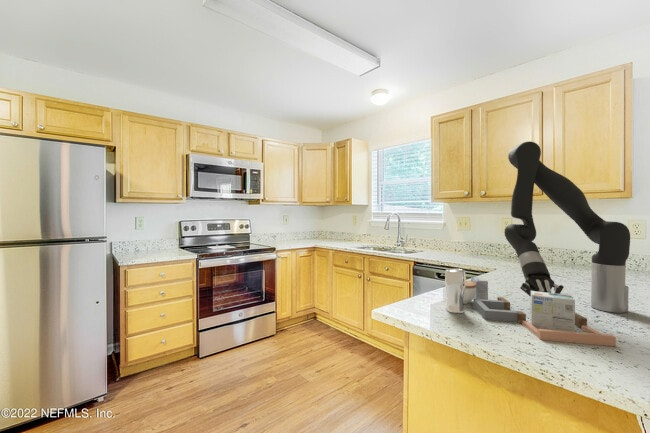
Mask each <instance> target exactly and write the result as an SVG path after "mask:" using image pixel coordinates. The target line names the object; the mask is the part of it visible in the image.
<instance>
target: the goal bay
mask: <svg viewBox="0 0 650 433" xmlns="http://www.w3.org/2000/svg"><path fill="white" fill-rule="evenodd" d="M521 325H522V326H524V327H525V328H526V329H527V330H528V331H530V332H531V333H532V334H533V335H534V336H535V337H536V338H538V339H539V340H543V341H544V340H545V341H553V342H565V343H575V344H586V345H587V344H588V345H598V346H609V347H610V346H611V347H616V346H617V345H616V344H617V340H616V339H617V337H616V336H615V335H612V334H605V333H601V332H599V331H597V330H596V329H594V328H592V327H591V326H589V325H587V326H585V325H582V328H581V330H582V331H583V332H580V331H575V332H572V331H559V330H547V329H537V328H536V327H534V326H533V325H532V324H531V322H529V321H528V320H526V321H522V323H521Z"/></svg>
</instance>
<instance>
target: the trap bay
mask: <svg viewBox="0 0 650 433" xmlns="http://www.w3.org/2000/svg"><path fill="white" fill-rule="evenodd" d="M472 302H473V304H472V307H473V308H474V309H475V311H477V312H478V313H479V315H480V316H481V317H482V318H483V319H484V320H488V321H502V322H503V321H504V322H514V323H516V322H517V323H518V313H517V312H516V311H517V310H511V309H510V310H504V302H503V301H500V300H497V299H488V300H485V299H474V298H473V300H472Z"/></svg>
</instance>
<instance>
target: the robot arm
mask: <svg viewBox="0 0 650 433" xmlns="http://www.w3.org/2000/svg"><path fill="white" fill-rule="evenodd" d="M541 150H542V149H541V146H540V145H539V144H537V143H536V142H534V141H530V140H529V141H523V142H521V143H520V144H518V145H516V146H514V147H513V148H511V149H510V151H509V152H508V155H507V159H508V161H509V163H510V164H511V166H513V167H514V168H515V169H517V174H516V182H515V185H514V187H513V188H514V189H513V192H512V197H511V207H510V215H511V217H512V218H513V219H519V220H521V222H522V223H523V224H518V223H517V224H514V223H511V224H508V225H507V226H506V227H505V228H504V231H503V232H504V236H505V238H506V239H505V240H506V241H507V242H508V243H509V245H511V247H512V248H513V249H514V251H515V252H516V256H517V258H518V262H519V267H520V268H521V270H522V274H523V277H524V279H525V282H523V283H521V285H520V289H521V291H523V292H524V293H525V294H527V296H529V297H530V298H531V291H537V292H547V293H552V289H553V291H554V293H556V294H562V291H563V290H564V288H565V287H564V286H563V285H562V284H556V283H555V281H554V280H553V279H552V277H551V274H550V272H549V269H548V268H547V265H546V262H545V260H544V258H543V256H542V255H541V253H540V250H539V248H538V245H537V244H536V242H533V241H535V239H536V237H537V229H536V226H535V222H534V218H533V204H534V203H533V200H534V190H535V188H534V187H535V185H536V186H537V188H539V190H540V191H542V192H543V193H544V194H545V195H546V197H547V198H548V199H549V200H550V201H551V202H552V203H553V204H554V205H556V206H557V207H558V208H559V209H560V210H561V211H562V212H563V213H565V214H566V215H567V216H568V217H569V219H571V220H572V221H573V222H575V224H577V226H578V227H579V229H581V231H582V232H583V233H584V234H585V236H586V237H587V239H589V240H590V242H592V243H594V244H597V245H598V251H597V252H596V253H595V254H593V255H592V256H591V280H590V282H591V284H590V288H591V289H590V292H591V293H590V306H591V308H594V309H596V310H599V311H603V312H608V313H617V314H619V313H620V314H623V313H629V290H630V289H629V286H628V285H626V271H627V270H626V266H627V265H626V264H627V260H628V259H629V256H630V250H631V249H630V248H631V232H630V229H629V228H628V226H627V225H626V224H624V223H622V222H619V221H607V220H605V219H604V218H602V217H601V216H599V215H598V214H597V213H596V212H595V211H594V210H593V209H592V208H591V207H590V204H589V202H588V200H587V197H586V196H585V193H584V192H583V191H582V189H580V188H579V187H578V186H577V184H575V182H573V181H572V180H571V179H569V178H567V177H566V176H564V175H562V174H561V173H558V172H556V171H555V170H553V169H551V168H549V167H548V166H546V165H545V164H544V163H543V162H542V161H541V155H542V151H541Z"/></svg>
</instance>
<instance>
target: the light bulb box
mask: <svg viewBox="0 0 650 433" xmlns="http://www.w3.org/2000/svg"><path fill="white" fill-rule="evenodd" d="M575 313H576V300H575V298H574V297H573V296H572V295H571V294H564V293H560V294H556V293H555V292H551V293H547V292H537V291H531V297H530V323H531V324H532V325H533V326H534V327H536V328H537V329H547V330H559V331H572V332H576V325H575Z"/></svg>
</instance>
